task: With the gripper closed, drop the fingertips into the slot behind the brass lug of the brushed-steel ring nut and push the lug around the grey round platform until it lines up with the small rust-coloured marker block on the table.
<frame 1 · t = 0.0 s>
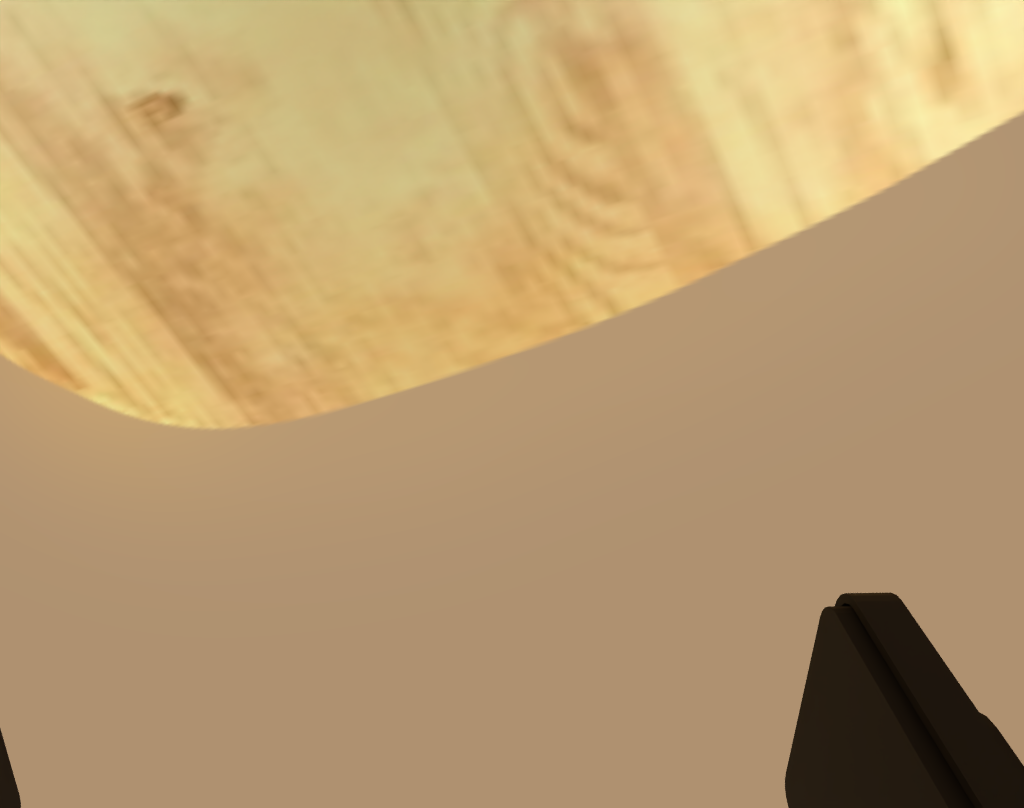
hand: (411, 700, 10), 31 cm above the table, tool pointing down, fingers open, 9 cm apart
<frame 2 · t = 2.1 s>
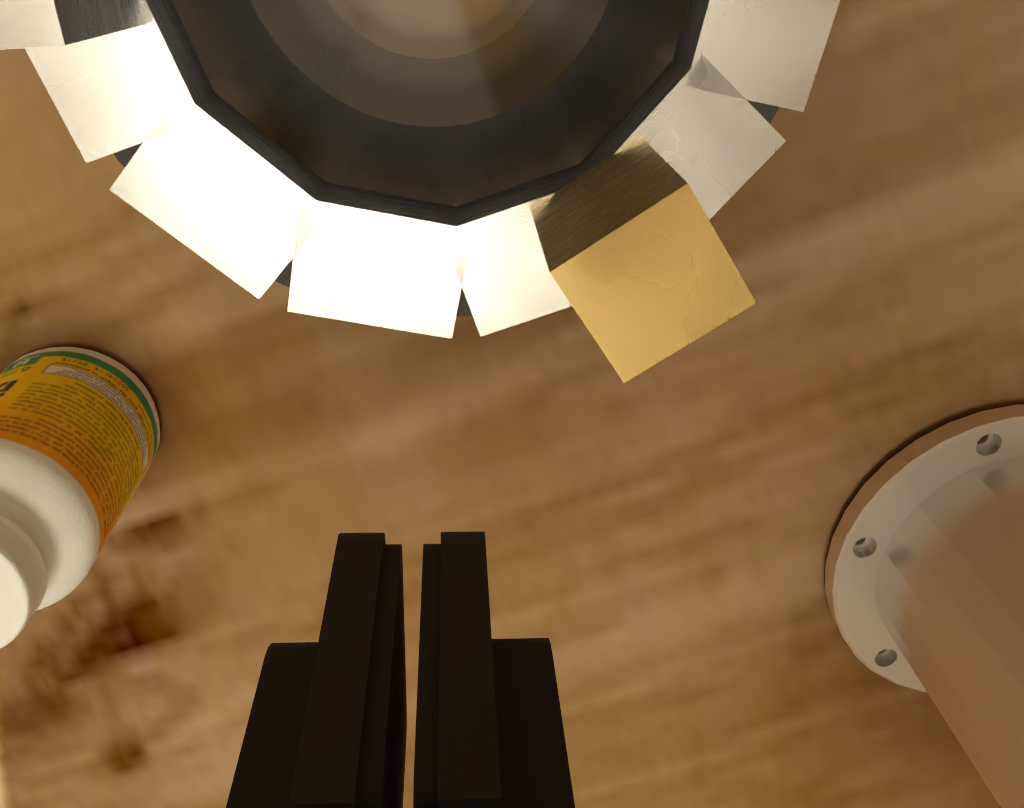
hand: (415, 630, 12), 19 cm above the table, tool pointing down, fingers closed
supplement bottle: (84, 412, 31), on the table
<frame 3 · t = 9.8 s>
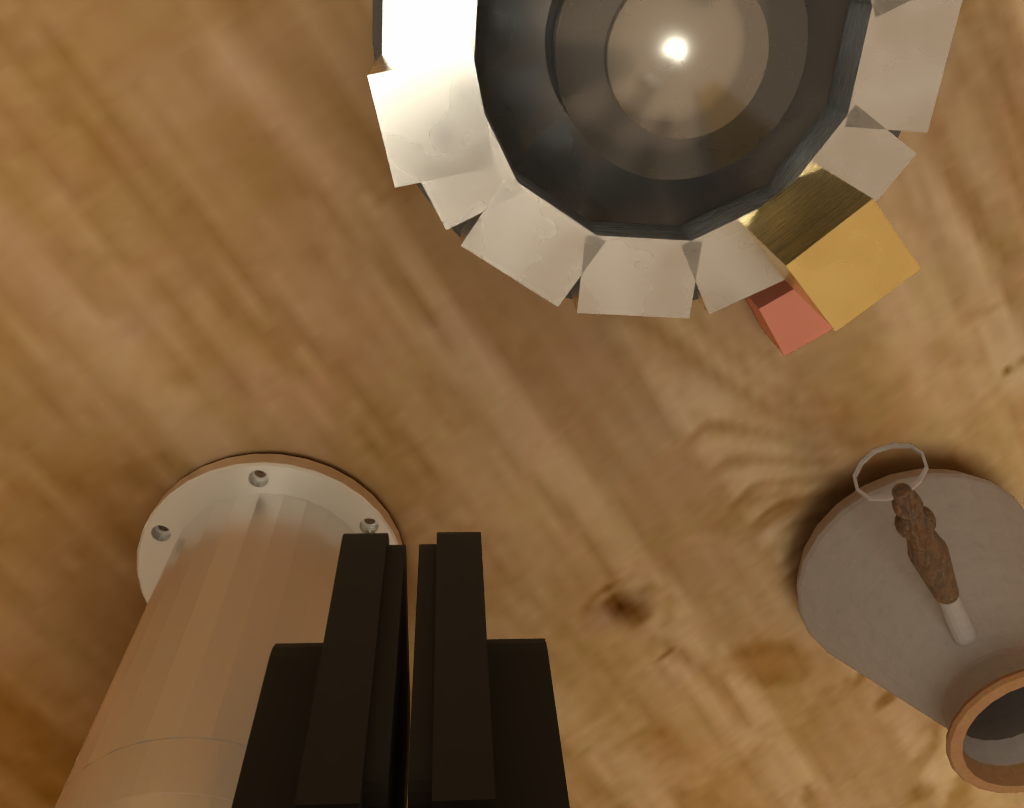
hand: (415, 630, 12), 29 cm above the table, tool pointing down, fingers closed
ring nut: (679, 50, 29), point 7 cm above the table, hinge at 85.7°
grey round platform: (641, 33, 36), on the table
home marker: (776, 292, 41), on the table
coffee pot: (849, 471, 45), on the table
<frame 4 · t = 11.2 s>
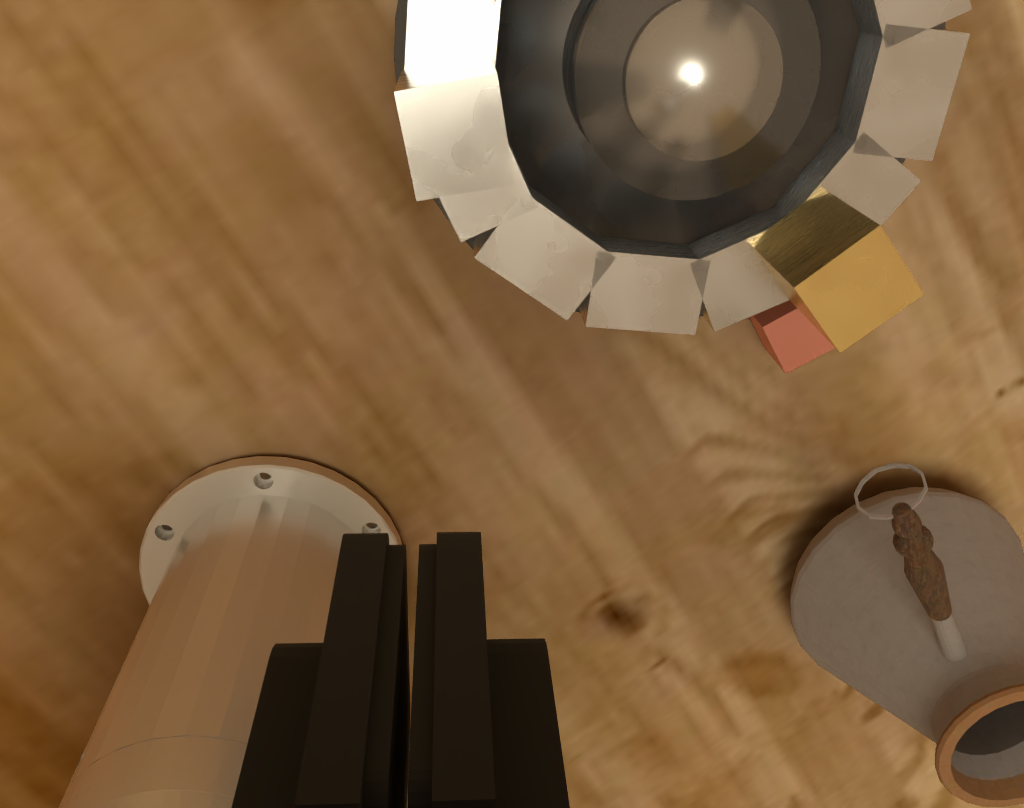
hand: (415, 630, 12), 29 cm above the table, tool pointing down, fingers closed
ring nut: (696, 75, 30), point 7 cm above the table, hinge at 85.7°
grey round platform: (655, 54, 36), on the table
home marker: (778, 310, 41), on the table
coffee pot: (844, 487, 46), on the table
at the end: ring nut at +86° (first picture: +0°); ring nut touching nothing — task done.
